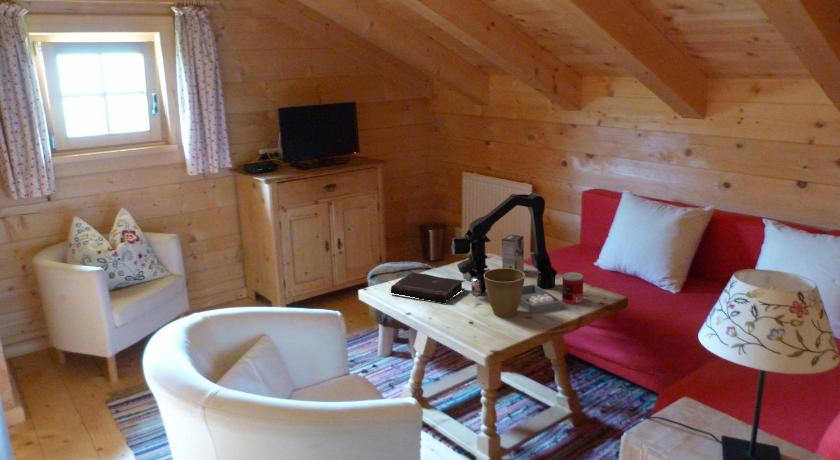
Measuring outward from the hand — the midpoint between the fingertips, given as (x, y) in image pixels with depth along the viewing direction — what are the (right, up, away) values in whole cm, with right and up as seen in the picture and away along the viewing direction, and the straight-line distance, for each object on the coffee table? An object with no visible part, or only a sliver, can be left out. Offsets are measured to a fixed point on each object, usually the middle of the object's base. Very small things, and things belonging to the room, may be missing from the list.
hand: (478, 289), depth 266 cm
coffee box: (+17, +5, +26) cm, 31 cm away
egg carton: (+22, -5, -17) cm, 28 cm away
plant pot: (+8, -8, -21) cm, 24 cm away
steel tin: (0, -2, +1) cm, 2 cm away
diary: (-20, -2, +6) cm, 21 cm away
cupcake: (-2, +3, +20) cm, 21 cm away
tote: (+20, -4, -11) cm, 23 cm away
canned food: (+35, -4, -11) cm, 37 cm away
